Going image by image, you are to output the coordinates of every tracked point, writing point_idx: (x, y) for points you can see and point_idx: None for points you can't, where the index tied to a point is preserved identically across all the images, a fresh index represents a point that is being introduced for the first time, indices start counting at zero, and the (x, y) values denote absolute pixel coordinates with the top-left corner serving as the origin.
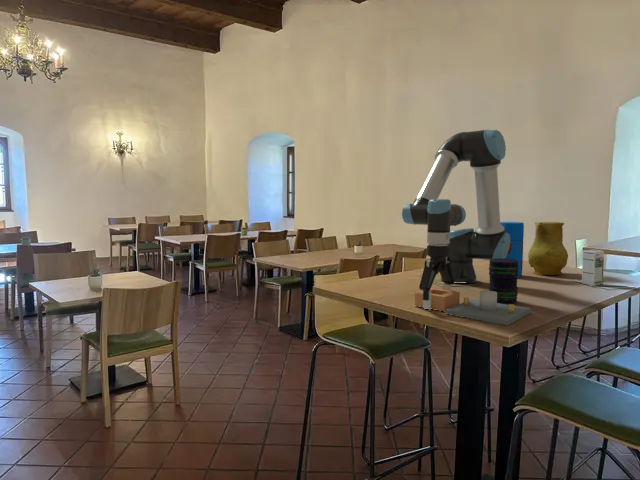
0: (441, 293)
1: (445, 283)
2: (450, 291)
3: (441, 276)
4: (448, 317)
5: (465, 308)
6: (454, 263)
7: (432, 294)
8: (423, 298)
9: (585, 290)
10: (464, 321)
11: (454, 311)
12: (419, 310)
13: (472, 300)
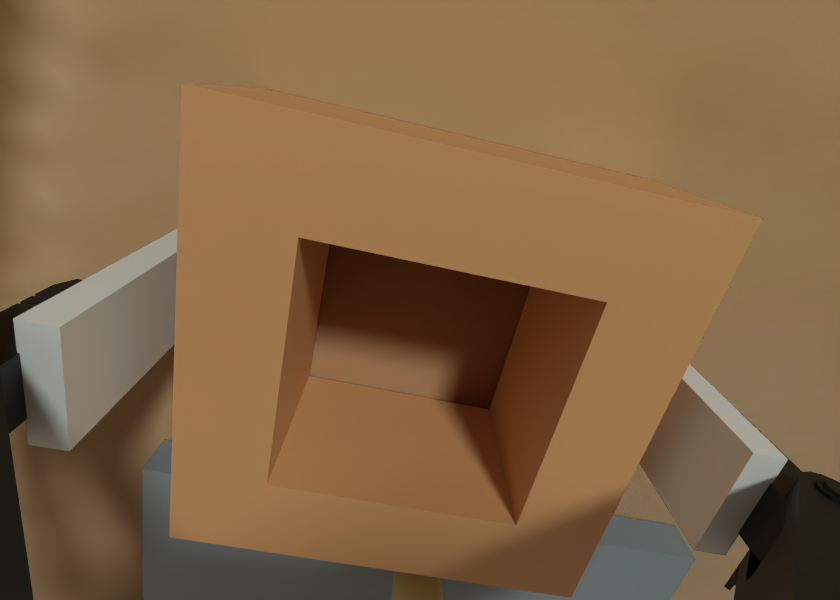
0: (547, 396)
1: (778, 493)
2: (549, 519)
3: (790, 597)
4: (91, 481)
5: (301, 580)
6: None
7: (221, 385)
8: (54, 291)
9: None
10: (70, 581)
11: (142, 538)
12: (142, 197)
13: (643, 570)
